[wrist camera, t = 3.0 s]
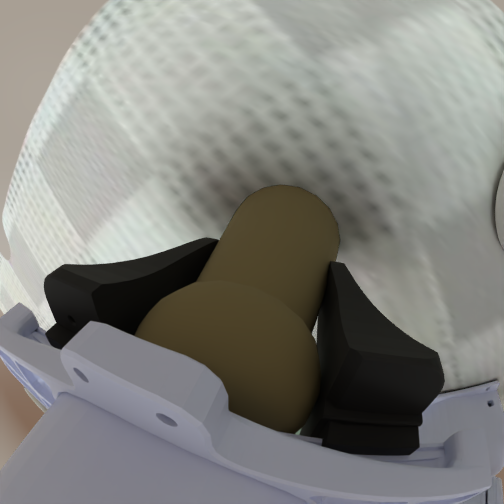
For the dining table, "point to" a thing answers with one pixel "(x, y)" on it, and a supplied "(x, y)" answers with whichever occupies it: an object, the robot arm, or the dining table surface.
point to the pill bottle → (500, 211)
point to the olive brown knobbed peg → (258, 307)
